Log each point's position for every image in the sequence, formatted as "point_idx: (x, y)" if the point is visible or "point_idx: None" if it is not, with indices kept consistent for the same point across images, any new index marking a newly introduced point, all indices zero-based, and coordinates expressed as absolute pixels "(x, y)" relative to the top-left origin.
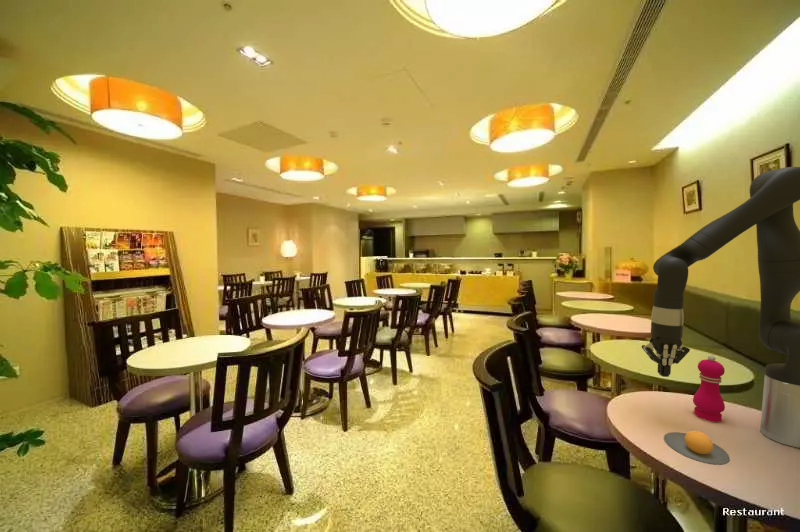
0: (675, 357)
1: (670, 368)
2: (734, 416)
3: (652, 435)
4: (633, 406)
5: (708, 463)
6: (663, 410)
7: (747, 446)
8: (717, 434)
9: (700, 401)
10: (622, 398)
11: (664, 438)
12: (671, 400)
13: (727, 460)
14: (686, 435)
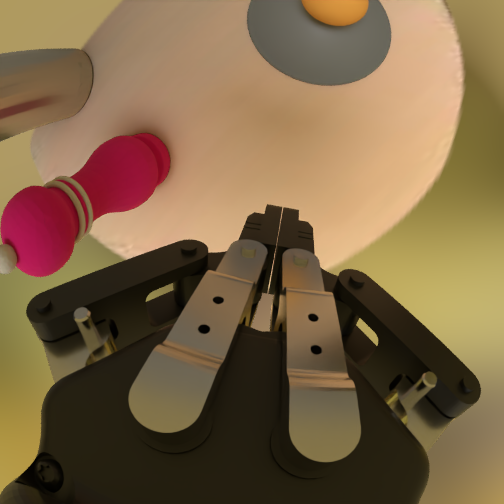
0: (157, 302)
1: (243, 234)
2: None
3: (395, 88)
4: (317, 229)
5: None
6: (242, 198)
7: (167, 28)
8: (193, 73)
9: (146, 166)
10: None
11: (377, 66)
12: None
13: None
14: (363, 10)
